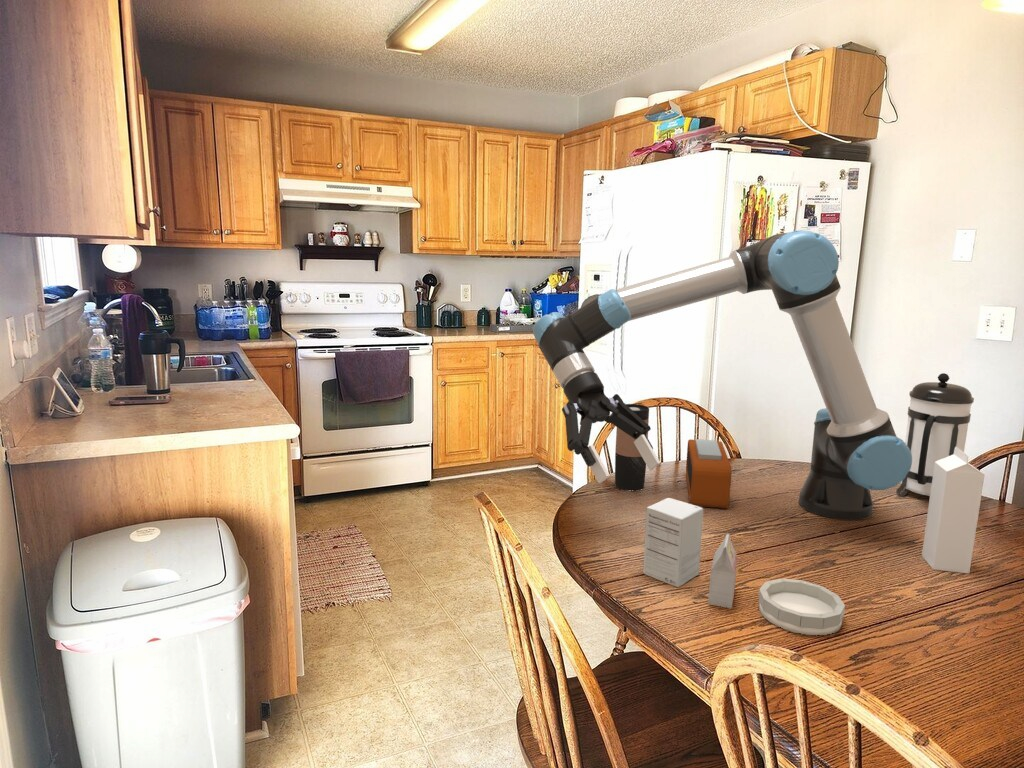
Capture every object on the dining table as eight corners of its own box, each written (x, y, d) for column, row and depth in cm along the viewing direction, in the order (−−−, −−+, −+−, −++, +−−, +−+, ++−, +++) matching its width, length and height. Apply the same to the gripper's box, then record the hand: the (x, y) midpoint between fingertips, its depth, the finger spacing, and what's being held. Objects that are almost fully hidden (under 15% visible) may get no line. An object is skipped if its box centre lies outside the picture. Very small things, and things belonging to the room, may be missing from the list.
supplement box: (664, 561, 123) (668, 496, 120) (700, 574, 117) (705, 507, 115) (641, 573, 118) (645, 506, 115) (677, 588, 112) (682, 518, 110)
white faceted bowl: (827, 599, 110) (829, 582, 109) (853, 639, 98) (855, 620, 97) (752, 592, 111) (753, 576, 111) (768, 631, 100) (770, 613, 99)
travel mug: (643, 481, 166) (647, 404, 163) (646, 492, 159) (651, 411, 155) (612, 480, 167) (616, 403, 163) (614, 490, 160) (618, 410, 156)
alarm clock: (685, 475, 173) (688, 433, 171) (718, 477, 171) (722, 435, 169) (690, 507, 150) (693, 459, 148) (728, 511, 148) (732, 462, 146)
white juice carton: (708, 604, 107) (712, 546, 106) (712, 585, 114) (716, 530, 112) (731, 608, 106) (736, 550, 104) (734, 589, 112) (739, 534, 110)
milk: (932, 570, 121) (948, 454, 117) (921, 556, 127) (935, 445, 123) (970, 574, 119) (987, 456, 115) (957, 559, 125) (973, 447, 121)
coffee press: (875, 484, 168) (890, 367, 162) (939, 485, 167) (956, 368, 162) (914, 509, 151) (932, 380, 145) (985, 511, 150) (1006, 381, 145)
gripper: (613, 385, 142) (663, 471, 133) (521, 398, 127) (570, 495, 118) (633, 364, 137) (686, 452, 128) (539, 375, 122) (591, 474, 113)
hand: (630, 473), depth 123 cm, fingers open, 13 cm apart
